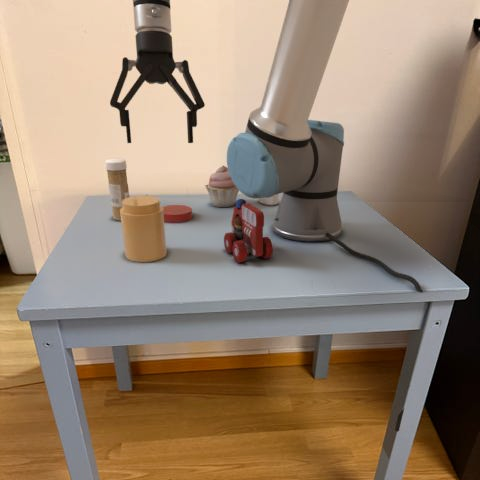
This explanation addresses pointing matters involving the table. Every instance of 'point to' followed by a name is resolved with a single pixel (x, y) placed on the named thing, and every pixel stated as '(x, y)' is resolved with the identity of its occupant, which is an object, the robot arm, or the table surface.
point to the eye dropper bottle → (269, 200)
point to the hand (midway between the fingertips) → (160, 143)
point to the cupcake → (222, 188)
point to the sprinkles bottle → (117, 184)
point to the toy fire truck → (247, 233)
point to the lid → (177, 213)
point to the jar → (143, 229)
